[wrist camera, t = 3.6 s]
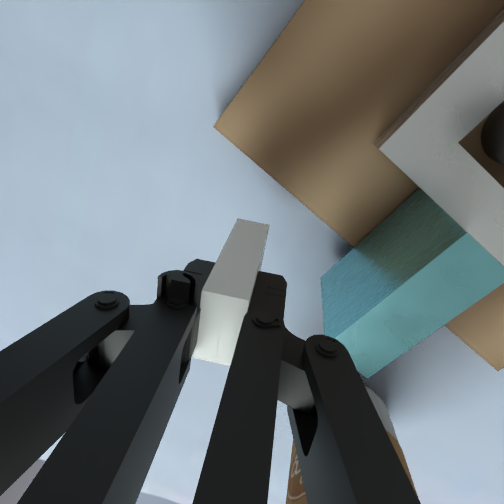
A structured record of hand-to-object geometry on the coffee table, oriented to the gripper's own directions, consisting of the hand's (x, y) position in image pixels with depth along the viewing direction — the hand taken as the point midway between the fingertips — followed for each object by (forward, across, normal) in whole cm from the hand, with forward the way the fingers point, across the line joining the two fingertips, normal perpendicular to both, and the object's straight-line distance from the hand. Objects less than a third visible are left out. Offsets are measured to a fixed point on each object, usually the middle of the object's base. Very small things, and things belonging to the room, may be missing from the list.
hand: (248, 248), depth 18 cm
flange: (+3, +9, +4) cm, 11 cm away
